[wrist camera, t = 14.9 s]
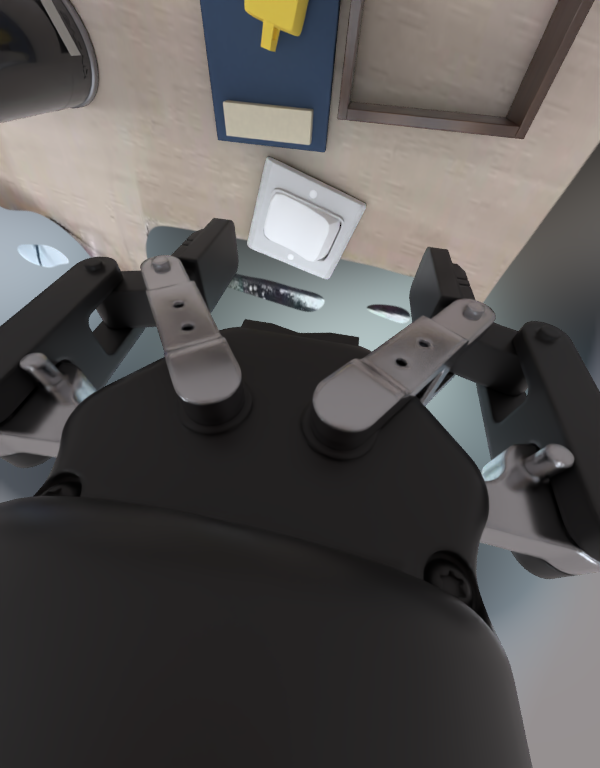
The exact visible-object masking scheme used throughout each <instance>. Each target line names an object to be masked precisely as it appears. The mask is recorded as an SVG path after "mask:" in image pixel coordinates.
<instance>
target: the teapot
mask: <svg viewBox="0 0 600 768" xmlns="http://www.w3.org/2000/svg"><path fill="white" fill-rule="evenodd" d="M308 1H309V0H244V6H245V11H246V12H247V13H248V14H250V15H251V16H252V17H254V18H256V19H258V20H260V21H262V22H263V29H262V39H261V47H263V48H265V49H267V50H269V51H274V52H275V51H276V46H277V42H278V37H279V33H280V30H282V31H284V32H287V33H289V34H292V35H294V36H300V34H301V31H302V28H303V24H304V19H305V15H306V10H307V6H308Z"/></svg>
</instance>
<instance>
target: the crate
mask: <svg viewBox="0 0 600 768" xmlns="http://www.w3.org/2000/svg"><path fill="white" fill-rule="evenodd" d="M593 2H594V0H559V2H558V4H557V6H556V8H555V10H554V13H553V15H552V17H551V19H550V21H549V24H548V26H547V28H546V30H545V32H544V35H543V37H542V39H541V41H540V43H539V46H538V48H537V50H536V52H535V54H534V57H533V59H532V61H531V63H530V66H529V68H528V70H527V72H526V74H525V77H524V79H523V81H522V83H521V85H520V88H519V90H518V92H517V94H516V96H515V99H514V101H513V103H512V105H511V107H510V110H509V112H508V114H507V116H506V118H505V117H496V116H487V115H477V114H467V113H457V112H448V111H438V110H428V109H419V108H409V107H399V106H389V105H380V104H370V103H360V102H351V95H352V88H353V80H354V73H355V66H356V59H357V51H358V44H359V37H360V29H361V22H362V15H363V8H364V0H351V6H350V14H349V23H348V32H347V40H346V49H345V57H344V66H343V75H342V83H341V92H340V101H339V109H338V118H337V119H340V120H350V121H360V122H369V123H378V124H388V125H397V126H406V127H416V128H425V129H434V130H444V131H453V132H462V133H471V134H481V135H490V136H499V137H509V138H518V139H524V137H525V135H526V133H527V131H528V129H529V127H530V125H531V123H532V121H533V120H534V118H535V116H536V114H537V112H538V110H539V108H540V106H541V104H542V102H543V100H544V98H545V96H546V94H547V92H548V90H549V88H550V86H551V84H552V82H553V80H554V78H555V76H556V74H557V73H558V71H559V69H560V67H561V65H562V63H563V61H564V59H565V57H566V55H567V53H568V51H569V49H570V47H571V45H572V43H573V41H574V39H575V37H576V35H577V33H578V31H579V29H580V27H581V26H582V24H583V22H584V20H585V18H586V16H587V14H588V12H589V10H590V8H591V6H592V4H593ZM350 102H351V103H350Z"/></svg>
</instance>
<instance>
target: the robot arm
mask: <svg viewBox="0 0 600 768" xmlns="http://www.w3.org/2000/svg"><path fill="white" fill-rule="evenodd" d="M97 88H98V67H97V62H96V57H95V53H94V50H93V47H92V44H91V41H90V38H89V36H88V34H87V31H86V29H85V27H84V25H83V23H82V21H81V19H80V17H79V16H78V14H77V12H76V11H75V9H74V8H73V6H72V4H71V3H70V2H69V0H0V123H4V122H8V121H13V120H17V119H22V118H26V117H31V116H35V115H40V114H44V113H49V112H53V111H59V110H63V109H67V108H79V107H83V106H86V105H88V104H89V103H90V102H91V101H92V100H93V99H94V97H95V95H96V92H97ZM237 268H238V252H237V243H236V234H235V226H234V223H233V221H232V220H225V219H218V218H213V219H212V220H211V222H210V223H209V224H208V225H207V226H206V227H205V228H204V229H201V230H199V231H196V232H194V233H192V234H191V236H189V237H188V239H187V241H185V242H184V243H183V244H182V245H181V246H180V247H179V248H178V249H177V250H176V251H175V252H174V253H173V254H172V255H171V256H169V255H162V256H155V257H152V258H149V259H147V260H145V261H144V262H143V263H142V264H141V266H140V269H141V271H120V269H119V267H118V264H117V262H116V261H115V260H114V259H112V258H109V257H93V258H89V259H85V260H83V261H81V262H79V263H77V264H76V265H75V266H73V267H72V268H71V269H70V270H68V271H67V272H66V273H65V274H64V275H62V276H61V277H60V278H59V279H57V280H56V281H55V282H54V283H53V284H51V285H50V286H49V287H48V288H47V289H45V290H44V291H43V292H42V293H40V294H39V295H38V296H37V297H35V298H34V299H33V300H32V301H31V302H29V304H27V305H26V306H25V307H24V308H22V309H21V310H20V311H18V312H17V313H16V314H15V315H14V316H12V317H11V318H10V319H9V320H7V322H5V323H4V324H3V325H1V326H0V458H2V459H4V460H6V461H7V462H9V463H11V464H12V465H14V466H16V467H20V468H29V467H33V466H37V465H39V464H42V463H44V462H45V461H47V460H48V459H50V458H51V457H57V458H56V461H55V463H54V466H53V468H52V470H51V472H50V474H49V476H48V478H47V480H46V482H45V483H44V484H43V486H42V487H41V488H40V489H39V490H38V492H37V493H36V494H35V495H34V496H33V497H27V498H19V499H14V500H10V501H7V502H3V503H0V768H532V764H531V759H530V754H529V749H528V745H527V740H526V735H525V730H524V726H523V720H522V715H521V711H520V706H519V701H518V696H517V691H516V686H515V682H514V678H513V674H512V670H511V666H510V664H509V661H508V658H507V656H506V653H505V651H504V649H503V647H502V645H501V642H500V640H499V638H498V636H497V634H496V633H495V630H494V628H493V626H492V624H491V622H490V619H489V617H488V614H487V612H486V609H485V606H484V604H483V601H482V598H481V595H480V592H479V589H478V584H477V576H476V565H477V564H476V563H477V553H478V546H479V543H480V542H481V543H485V544H488V545H492V546H496V547H500V548H504V549H507V550H511V552H512V554H513V555H514V557H515V558H516V560H517V561H518V562H519V563H520V564H521V565H522V566H523V567H524V568H525V569H526V570H528V571H529V572H530V573H532V574H534V575H536V576H538V577H540V578H544V579H554V578H561V577H567V576H575V575H582V574H589V573H596V572H600V392H599V390H598V388H597V386H596V384H595V382H594V381H593V379H592V377H591V375H590V373H589V371H588V370H587V368H586V366H585V364H584V362H583V361H582V359H581V357H580V355H579V353H578V351H577V350H576V348H575V346H574V344H573V342H572V340H571V339H570V337H569V336H568V335H567V334H566V333H564V332H563V331H562V330H560V329H559V328H557V327H555V326H553V325H550V324H547V323H544V322H538V321H531V322H527V323H525V324H524V325H523V327H522V328H521V329H520V330H519V331H516V330H513V329H510V328H507V327H504V326H501V325H499V324H496V323H494V321H495V319H496V315H495V313H494V311H493V310H492V309H491V308H490V307H489V306H487V305H485V304H484V303H482V302H479V301H476V300H475V298H474V295H473V292H472V289H471V287H469V286H470V284H469V281H468V280H467V279H468V278H467V276H466V273H465V271H464V270H463V269H462V268H461V267H460V266H459V265H458V264H453V263H452V261H451V258H450V255H449V252H448V250H447V249H440V248H433V247H428V248H427V249H426V251H425V253H424V255H423V257H422V260H421V262H420V265H419V268H418V270H417V273H416V275H415V278H414V280H413V283H412V286H411V290H410V297H409V299H410V307H411V316H412V323H411V324H410V325H408V326H407V327H406V328H404V329H403V330H401V331H400V332H399V333H397V334H396V335H395V336H393V337H392V338H390V339H389V340H388V341H386V342H385V343H384V344H382V345H381V346H379V347H378V348H377V349H375V350H374V351H372V352H371V351H370V350H368V349H366V348H363V347H361V346H358V344H359V337H354V336H348V335H342V334H335V333H297V332H295V331H292V330H289V329H286V328H283V327H281V326H278V325H275V324H272V323H266V322H259V321H252V320H247V319H245V320H244V322H243V324H242V326H241V327H233V328H227V329H223V330H218V328H217V326H216V324H215V322H214V320H213V318H212V316H211V312H212V311H213V309H214V307H215V306H216V304H217V303H218V301H219V299H220V298H221V296H222V295H223V293H224V291H225V290H226V288H227V286H228V285H229V283H230V282H231V280H232V278H233V277H234V275H235V274H236V272H237ZM95 309H96V310H97V311H98V313H99V315H100V316H101V318H102V320H103V321H102V322H101V323H100V324H99V326H98V327H97V328H96V329H95V330H94V331H93V332H92V331H91V329H90V327H89V322H88V321H89V317H90V315H91V313H92V312H93V311H94V310H95ZM145 327H157V329H158V332H159V336H160V339H161V342H162V346H163V349H164V356H165V357H164V358H161V359H159V360H157V361H155V362H153V363H151V364H149V365H147V366H145V367H143V368H141V369H139V370H137V371H135V372H133V373H131V374H129V375H127V376H125V377H123V378H121V379H119V380H117V381H115V382H113V383H111V384H109V385H107V386H105V385H106V383H107V382H108V380H109V379H110V378H111V376H112V375H113V373H114V372H115V370H116V369H117V368H118V366H119V365H120V363H121V362H122V361H123V359H124V358H125V356H126V355H127V354H128V352H129V351H130V349H131V348H132V347H133V345H134V344H135V342H136V341H137V340H138V338H139V337H140V335H141V334H142V333H143V331H144V329H145ZM455 375H458V376H460V377H463V378H465V379H468V380H471V381H473V382H475V383H476V386H477V391H478V396H479V401H480V406H481V411H482V416H483V421H484V427H485V432H486V437H487V442H488V447H489V451H490V456H491V461H490V462H489V463H487V464H486V465H485V466H484V467H483V470H482V474H481V472H480V470H479V469H478V467H477V465H476V464H475V462H474V461H473V460H472V459H471V457H470V456H469V455H468V454H467V453H466V452H465V451H464V449H462V447H461V446H460V445H459V444H458V443H457V442H456V441H455V439H454V438H453V437H452V436H451V435H450V434H449V433H448V432H447V431H446V429H445V428H444V427H443V426H442V425H441V424H440V423H439V421H438V420H437V419H436V418H435V417H434V416H433V415H432V414H431V413H430V411H429V410H428V409H427V408H426V407H425V406H426V405H427V404H428V403H429V401H430V400H431V399H432V398H433V397H434V396H435V395H436V394H437V393H438V392H439V391H440V390H441V389H442V388H443V387H444V386H445V385H446V384H447V383H448V382H449V381H450V380H451V379H452V378H453V377H454V376H455ZM104 386H105V387H104ZM527 388H528V395H527V396H526V393H525V390H526V389H527Z"/></svg>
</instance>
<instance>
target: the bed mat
mask: <svg viewBox="0 0 600 768" xmlns="http://www.w3.org/2000/svg"><path fill="white" fill-rule="evenodd" d="M200 5H201V12H202V20H203V28H204V36H205V43H206V51H207V59H208V67H209V74H210V82H211V90H212V98H213V105H214V113H215V121H216V128H217V136H218V140H222V141H230V142H239V143H248V144H256V145H265V146H274V147H282V148H291V149H300V150H308V151H317V152H325V150H326V142H327V132H328V122H329V112H330V102H331V91H332V81H333V71H334V61H335V51H336V41H337V31H338V21H339V10H340V0H309V1H308V6H307V10H306V15H305V19H304V24H303V28H302V31H301V34H300V36H294V35H292V34H289V33H287V32H284V31H282V30H280V33H279V37H278V42H277V46H276V51H275V52H274V51H269V50H267V49H265V48H263V47H261V39H262V29H263V22H262V21H260V20H258V19H256V18H254V17H252V16H251V15H250V14H248V13H247V12H246V11H245V6H244V0H200Z"/></svg>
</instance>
